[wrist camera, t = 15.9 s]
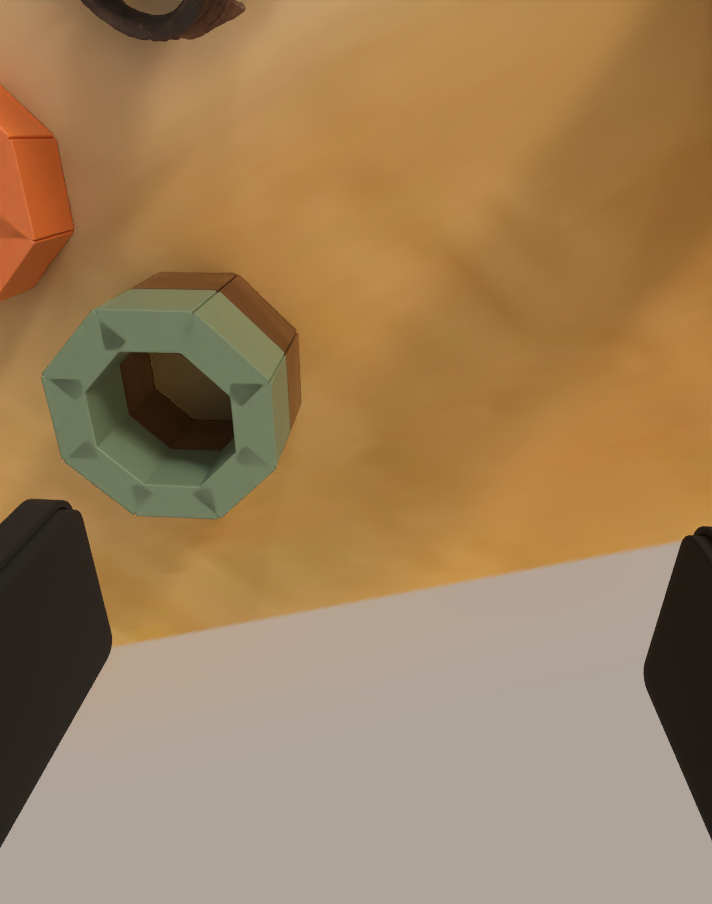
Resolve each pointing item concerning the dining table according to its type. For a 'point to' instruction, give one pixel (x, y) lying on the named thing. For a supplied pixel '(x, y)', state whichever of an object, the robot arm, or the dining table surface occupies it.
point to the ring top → (29, 199)
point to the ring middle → (132, 446)
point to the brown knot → (166, 18)
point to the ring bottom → (165, 415)
